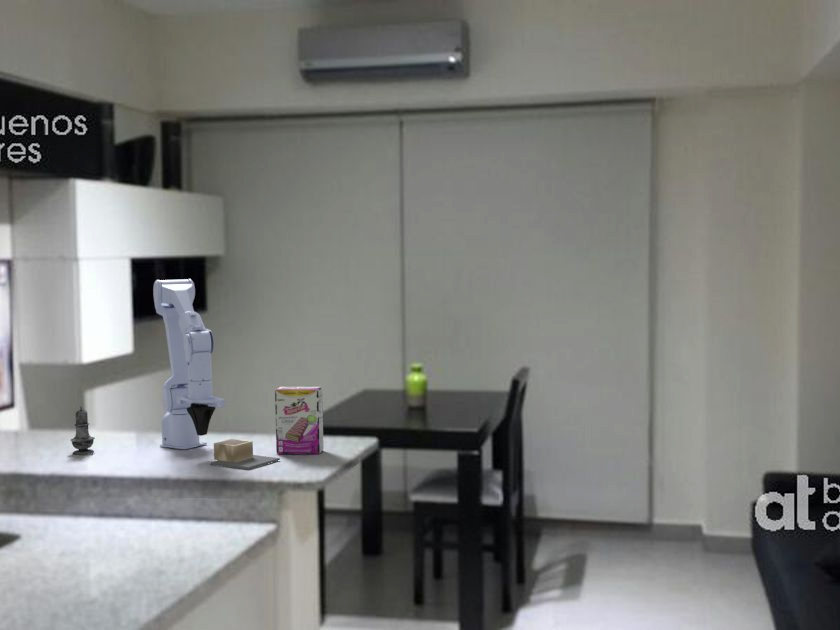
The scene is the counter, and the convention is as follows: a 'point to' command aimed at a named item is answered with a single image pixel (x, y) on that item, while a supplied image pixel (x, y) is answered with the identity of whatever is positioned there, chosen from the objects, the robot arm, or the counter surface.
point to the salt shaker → (82, 434)
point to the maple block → (233, 450)
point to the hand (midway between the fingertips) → (202, 434)
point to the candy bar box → (299, 420)
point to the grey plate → (246, 462)
